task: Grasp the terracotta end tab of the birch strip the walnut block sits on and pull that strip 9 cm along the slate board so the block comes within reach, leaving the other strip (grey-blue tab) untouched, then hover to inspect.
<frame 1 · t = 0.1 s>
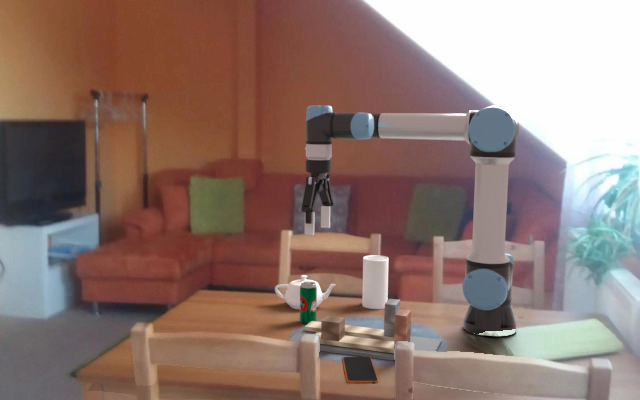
hand: (317, 231, 201), 28 cm above the table, fingers open, 13 cm apart
strip b: (352, 315, 191), point 6 cm above the table, slide at 0.0 cm
soda can: (307, 322, 206), on the table
smartphone: (359, 372, 168), on the table
teapot: (305, 306, 223), on the table
block: (333, 337, 184), point 2 cm above the table, touching strip a
strip a: (360, 326, 181), point 6 cm above the table, slide at 0.0 cm, touching block
cup: (374, 306, 224), on the table
board: (364, 344, 186), on the table
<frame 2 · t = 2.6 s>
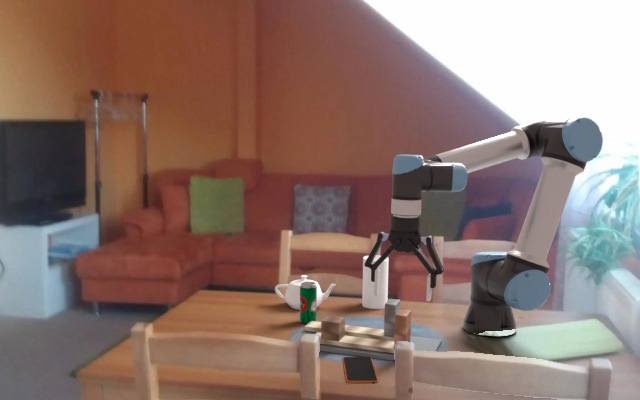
hand: (402, 297, 176), 16 cm above the table, fingers open, 13 cm apart
nothing on the table moved.
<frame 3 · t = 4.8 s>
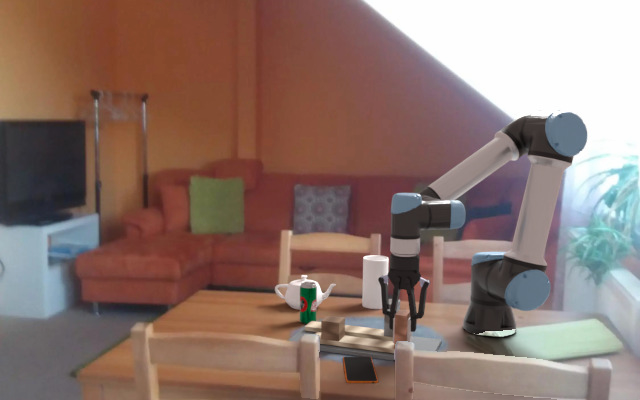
hand: (402, 342, 177), 4 cm above the table, fingers closed on strip a, 3 cm apart
strip a: (360, 326, 181), point 6 cm above the table, slide at 0.0 cm, touching block, gripper
everything else where it was.
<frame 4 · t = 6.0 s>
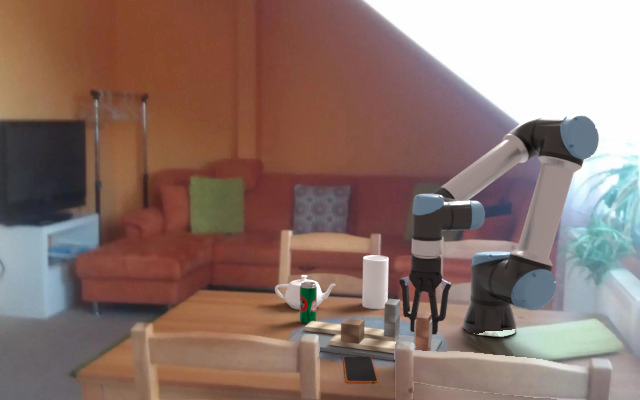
hand: (423, 344, 176), 4 cm above the table, fingers closed on strip a, 3 cm apart
block: (352, 339, 182), point 2 cm above the table, touching strip a
strip a: (380, 328, 179), point 6 cm above the table, slide at 5.5 cm, touching block, gripper
everything else where it was.
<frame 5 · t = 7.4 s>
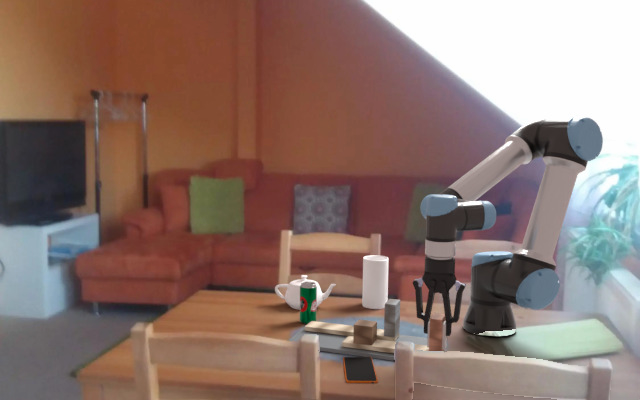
hand: (436, 346, 174), 4 cm above the table, fingers closed on strip a, 3 cm apart
block: (365, 341, 181), point 2 cm above the table, touching strip a
strip a: (393, 330, 178), point 6 cm above the table, slide at 9.0 cm, touching block, gripper
everything else where it was.
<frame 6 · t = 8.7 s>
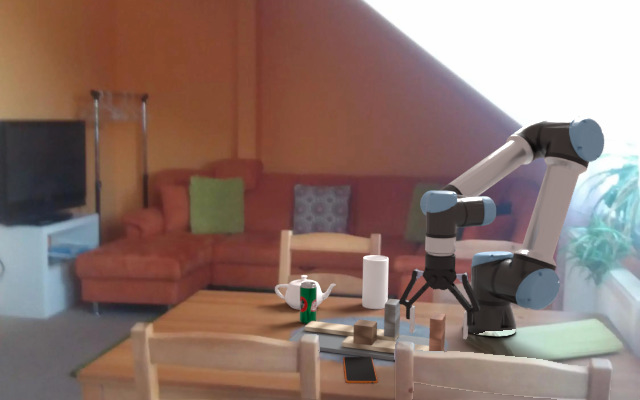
hand: (438, 334, 174), 7 cm above the table, fingers open, 13 cm apart
strip a: (393, 330, 178), point 6 cm above the table, slide at 9.0 cm, touching block
everything else where it was.
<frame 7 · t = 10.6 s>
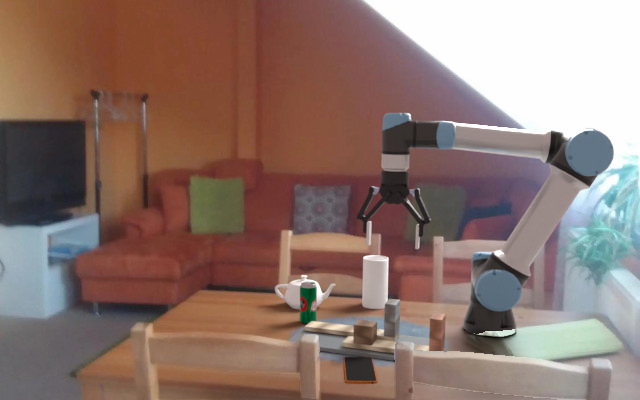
hand: (392, 246, 189), 26 cm above the table, fingers open, 13 cm apart
nothing on the table moved.
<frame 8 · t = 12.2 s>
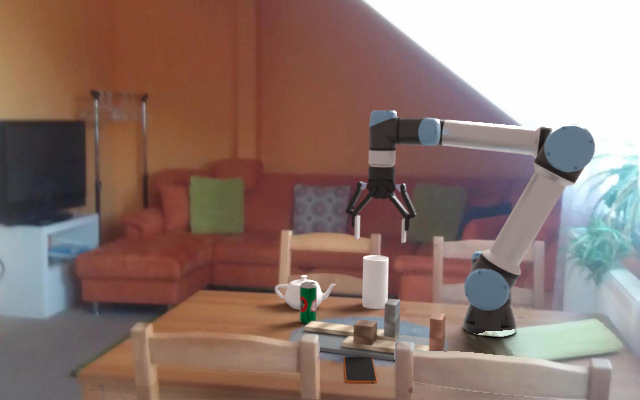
hand: (380, 240, 194), 27 cm above the table, fingers open, 13 cm apart
nothing on the table moved.
at the end: strip a slide at 9.0 cm; block inside the target area (0.0 cm from its centre), point 2.5 cm above the table; strip b slide at 0.0 cm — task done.
